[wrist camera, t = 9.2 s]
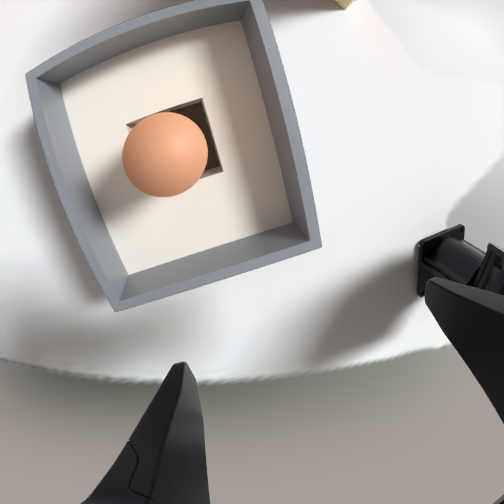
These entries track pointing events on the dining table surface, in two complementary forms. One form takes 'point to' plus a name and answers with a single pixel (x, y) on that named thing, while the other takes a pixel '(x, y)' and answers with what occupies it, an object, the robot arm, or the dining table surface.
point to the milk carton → (345, 3)
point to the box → (211, 181)
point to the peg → (165, 154)
